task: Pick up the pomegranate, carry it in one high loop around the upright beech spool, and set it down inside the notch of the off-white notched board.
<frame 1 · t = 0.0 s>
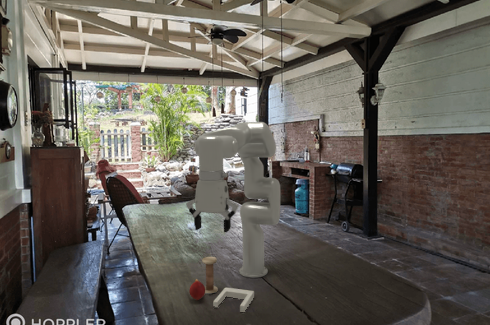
hand: (212, 230, 109), 31 cm above the table, tool pointing down, fingers open, 9 cm apart
spool: (210, 291, 136), on the table
pomegranate: (197, 300, 129), on the table
notched board: (234, 302, 126), on the table
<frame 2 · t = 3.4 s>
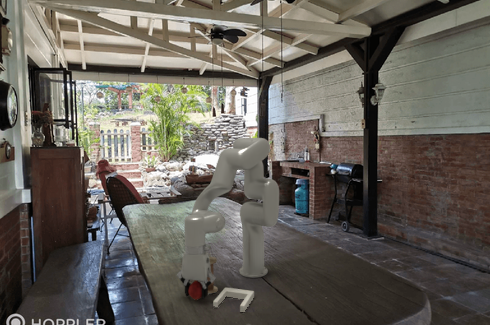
hand: (196, 295, 129), 2 cm above the table, tool pointing down, fingers closed on pomegranate, 5 cm apart
pomegranate: (196, 300, 129), on the table, touching gripper
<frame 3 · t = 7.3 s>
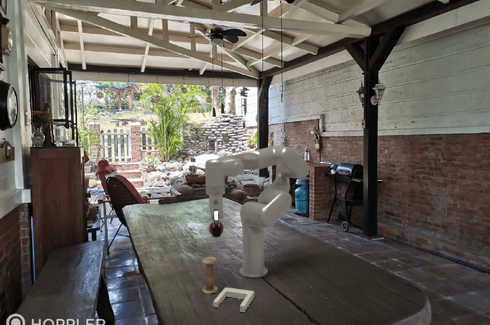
hand: (216, 233, 140), 21 cm above the table, tool pointing down, fingers closed on pomegranate, 5 cm apart
pomegranate: (216, 238, 140), point 20 cm above the table, touching gripper
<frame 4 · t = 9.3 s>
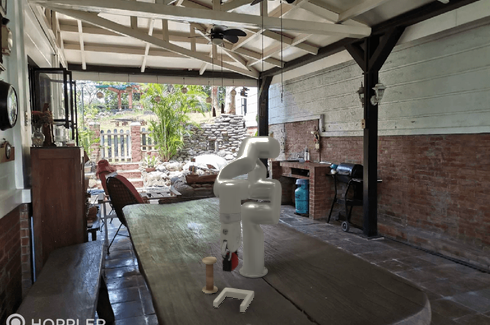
hand: (230, 267, 122), 15 cm above the table, tool pointing down, fingers closed on pomegranate, 5 cm apart
pomegranate: (230, 272, 122), point 13 cm above the table, touching gripper
when the fingers open (3 cm above the table, at t = 11.2 s): pomegranate drops 1 cm, on the table.
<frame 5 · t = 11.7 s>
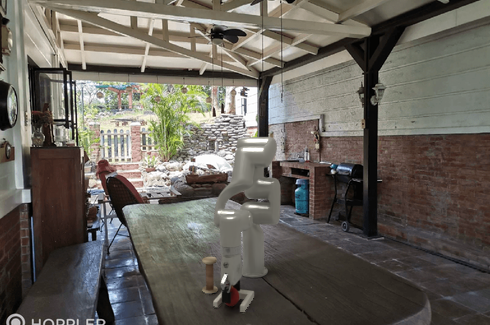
hand: (231, 296, 123), 4 cm above the table, tool pointing down, fingers open, 9 cm apart
pomegranate: (231, 307, 124), on the table
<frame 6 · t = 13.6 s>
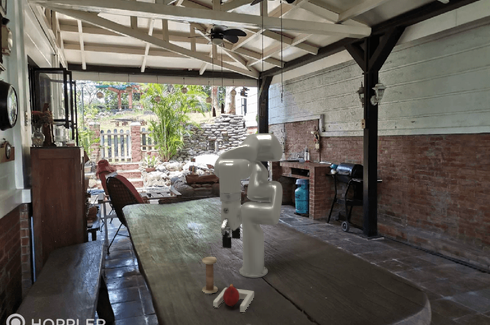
hand: (231, 242, 125), 22 cm above the table, tool pointing down, fingers open, 9 cm apart
nothing on the table moved.
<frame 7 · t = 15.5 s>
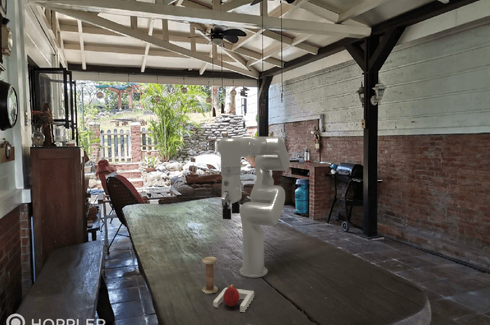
hand: (231, 216, 132), 30 cm above the table, tool pointing down, fingers open, 9 cm apart
nothing on the table moved.
at the end: pomegranate 0.1 cm from the target spot, on the table; the gripper is holding nothing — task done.
